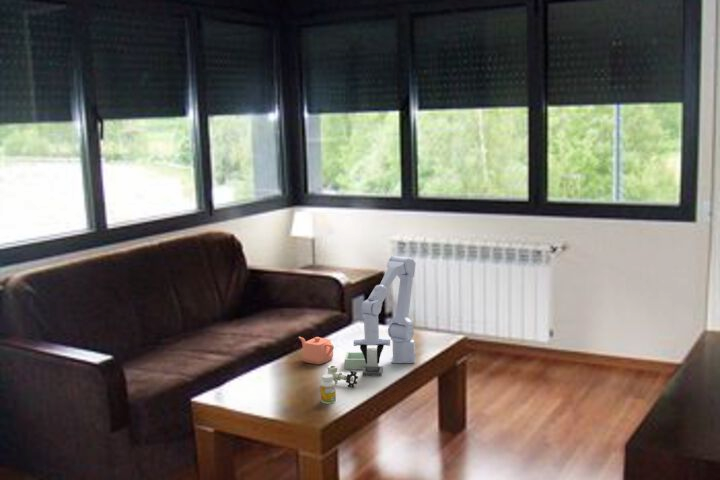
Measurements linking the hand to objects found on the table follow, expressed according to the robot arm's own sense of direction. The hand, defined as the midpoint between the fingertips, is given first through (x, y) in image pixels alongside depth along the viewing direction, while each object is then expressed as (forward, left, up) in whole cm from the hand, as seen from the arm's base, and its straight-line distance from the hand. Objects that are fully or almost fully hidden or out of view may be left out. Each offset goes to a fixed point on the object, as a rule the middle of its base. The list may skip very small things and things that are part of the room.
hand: (372, 362), depth 314 cm
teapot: (+25, -16, -5) cm, 30 cm away
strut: (0, 0, -2) cm, 2 cm away
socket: (0, 0, -4) cm, 4 cm away
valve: (+11, +13, -5) cm, 18 cm away
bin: (+7, -10, -4) cm, 13 cm away
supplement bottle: (+14, +31, -4) cm, 34 cm away
